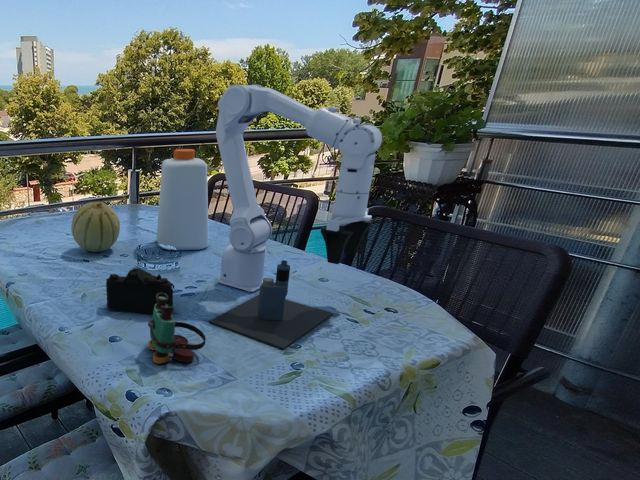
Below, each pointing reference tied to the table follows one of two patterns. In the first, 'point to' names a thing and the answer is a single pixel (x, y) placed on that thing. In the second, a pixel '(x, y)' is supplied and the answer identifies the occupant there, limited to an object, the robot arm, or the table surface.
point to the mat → (272, 322)
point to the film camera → (136, 291)
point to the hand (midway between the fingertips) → (341, 258)
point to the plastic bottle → (183, 202)
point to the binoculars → (170, 334)
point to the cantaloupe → (95, 227)
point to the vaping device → (274, 294)
